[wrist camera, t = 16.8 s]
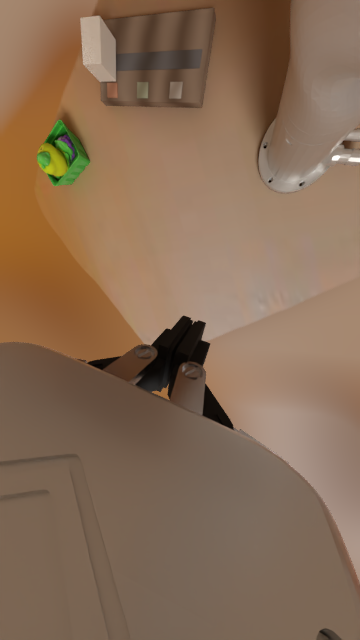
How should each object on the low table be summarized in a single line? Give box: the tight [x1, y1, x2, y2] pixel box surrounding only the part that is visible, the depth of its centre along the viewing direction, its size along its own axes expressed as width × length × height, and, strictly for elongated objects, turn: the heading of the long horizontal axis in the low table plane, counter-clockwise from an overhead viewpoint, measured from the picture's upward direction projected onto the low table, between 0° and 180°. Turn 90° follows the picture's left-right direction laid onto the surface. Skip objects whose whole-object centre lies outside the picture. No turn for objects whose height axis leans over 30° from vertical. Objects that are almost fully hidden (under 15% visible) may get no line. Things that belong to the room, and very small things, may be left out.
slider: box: [80, 16, 116, 82], centre depth 31 cm, size 4×5×4 cm
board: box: [101, 8, 216, 108], centre depth 32 cm, size 22×10×2 cm, turn 80°
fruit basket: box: [37, 120, 90, 186], centre depth 40 cm, size 11×9×11 cm
